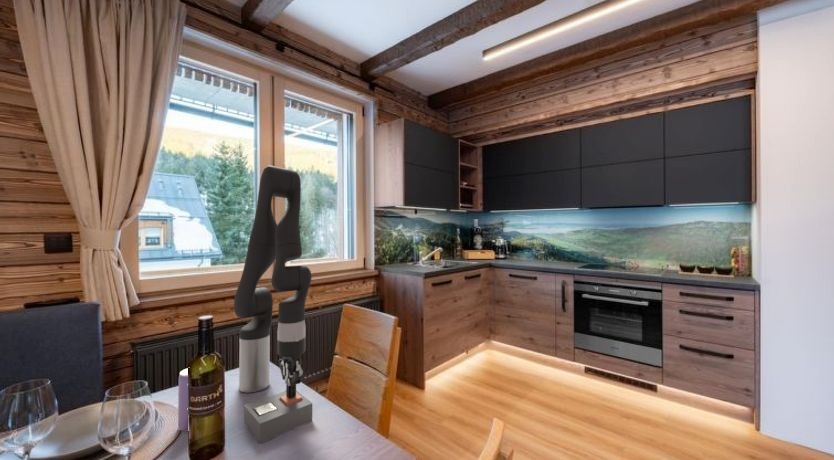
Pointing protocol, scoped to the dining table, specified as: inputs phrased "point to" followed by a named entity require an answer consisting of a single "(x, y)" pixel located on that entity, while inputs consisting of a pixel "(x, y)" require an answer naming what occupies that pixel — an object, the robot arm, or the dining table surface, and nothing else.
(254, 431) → the grey plug holder
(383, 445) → the dining table surface
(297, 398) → the orange cube
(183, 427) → the beverage can
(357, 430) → the dining table surface
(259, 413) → the plug
